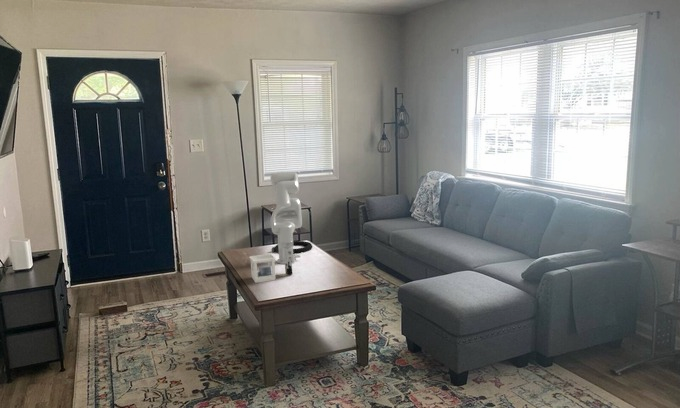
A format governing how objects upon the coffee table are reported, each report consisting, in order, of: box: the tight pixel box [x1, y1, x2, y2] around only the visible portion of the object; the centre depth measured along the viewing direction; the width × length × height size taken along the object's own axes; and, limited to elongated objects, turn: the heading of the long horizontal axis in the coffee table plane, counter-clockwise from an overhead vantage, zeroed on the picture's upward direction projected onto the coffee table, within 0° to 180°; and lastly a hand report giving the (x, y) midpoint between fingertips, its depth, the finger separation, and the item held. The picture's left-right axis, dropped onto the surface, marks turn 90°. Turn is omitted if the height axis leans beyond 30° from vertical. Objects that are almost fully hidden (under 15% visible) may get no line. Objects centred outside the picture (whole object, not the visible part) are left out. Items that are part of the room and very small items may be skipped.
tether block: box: [258, 265, 291, 278], centre depth 317 cm, size 19×6×6 cm, turn 110°
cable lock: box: [271, 240, 313, 254], centre depth 381 cm, size 28×4×30 cm
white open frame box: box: [249, 253, 277, 284], centre depth 313 cm, size 13×13×13 cm
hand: (288, 273), depth 320 cm, fingers closed on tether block, 3 cm apart
